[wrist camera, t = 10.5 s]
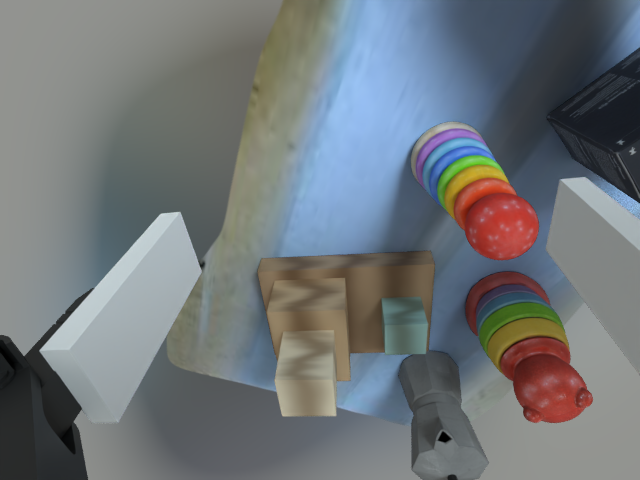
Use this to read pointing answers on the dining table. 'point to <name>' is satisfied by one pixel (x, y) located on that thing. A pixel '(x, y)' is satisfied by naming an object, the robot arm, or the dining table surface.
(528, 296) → the stacking bear
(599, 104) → the small box
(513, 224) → the stacking toy
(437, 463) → the coffeepot
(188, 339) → the dining table surface
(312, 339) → the oak block
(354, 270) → the base
